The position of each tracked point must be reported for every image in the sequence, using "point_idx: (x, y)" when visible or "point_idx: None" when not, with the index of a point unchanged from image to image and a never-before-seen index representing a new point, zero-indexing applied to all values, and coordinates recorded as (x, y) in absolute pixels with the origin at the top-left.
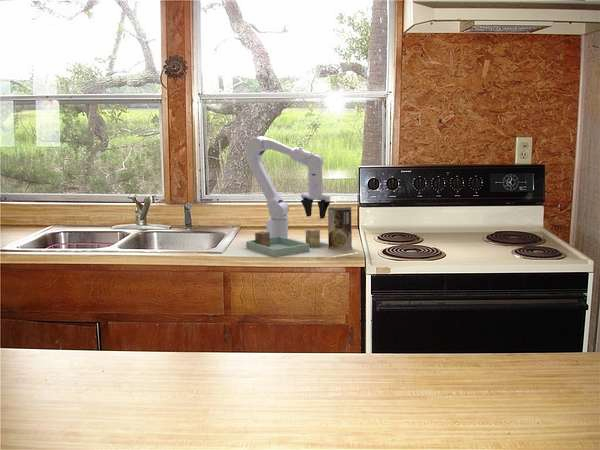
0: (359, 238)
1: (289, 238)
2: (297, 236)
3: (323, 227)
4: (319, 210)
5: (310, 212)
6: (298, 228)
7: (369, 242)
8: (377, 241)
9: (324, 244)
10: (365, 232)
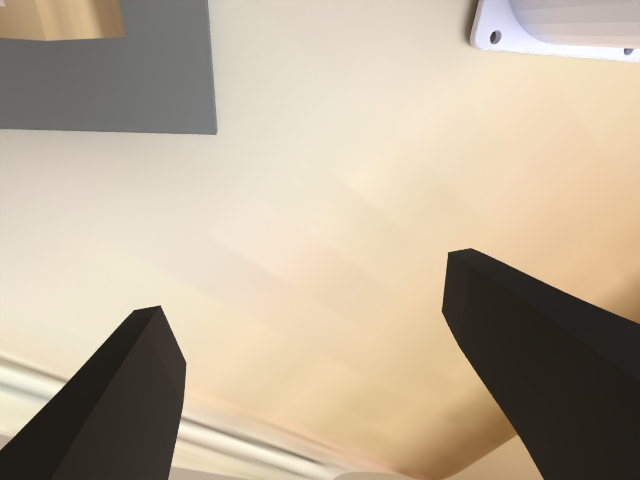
0: None
1: (491, 15)
2: (512, 173)
3: None
4: (68, 436)
5: (474, 347)
6: (633, 313)
7: (21, 404)
8: None
9: (12, 91)
10: (292, 476)
